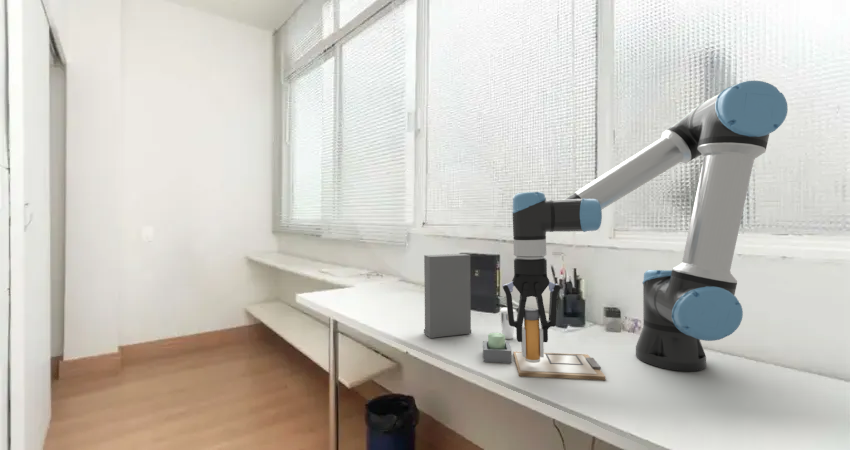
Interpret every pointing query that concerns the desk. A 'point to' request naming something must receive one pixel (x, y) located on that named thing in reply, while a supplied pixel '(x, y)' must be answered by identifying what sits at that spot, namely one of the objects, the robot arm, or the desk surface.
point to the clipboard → (560, 366)
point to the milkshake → (506, 323)
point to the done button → (496, 341)
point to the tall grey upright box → (447, 295)
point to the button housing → (496, 353)
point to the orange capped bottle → (532, 335)
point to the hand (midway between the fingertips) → (532, 355)
